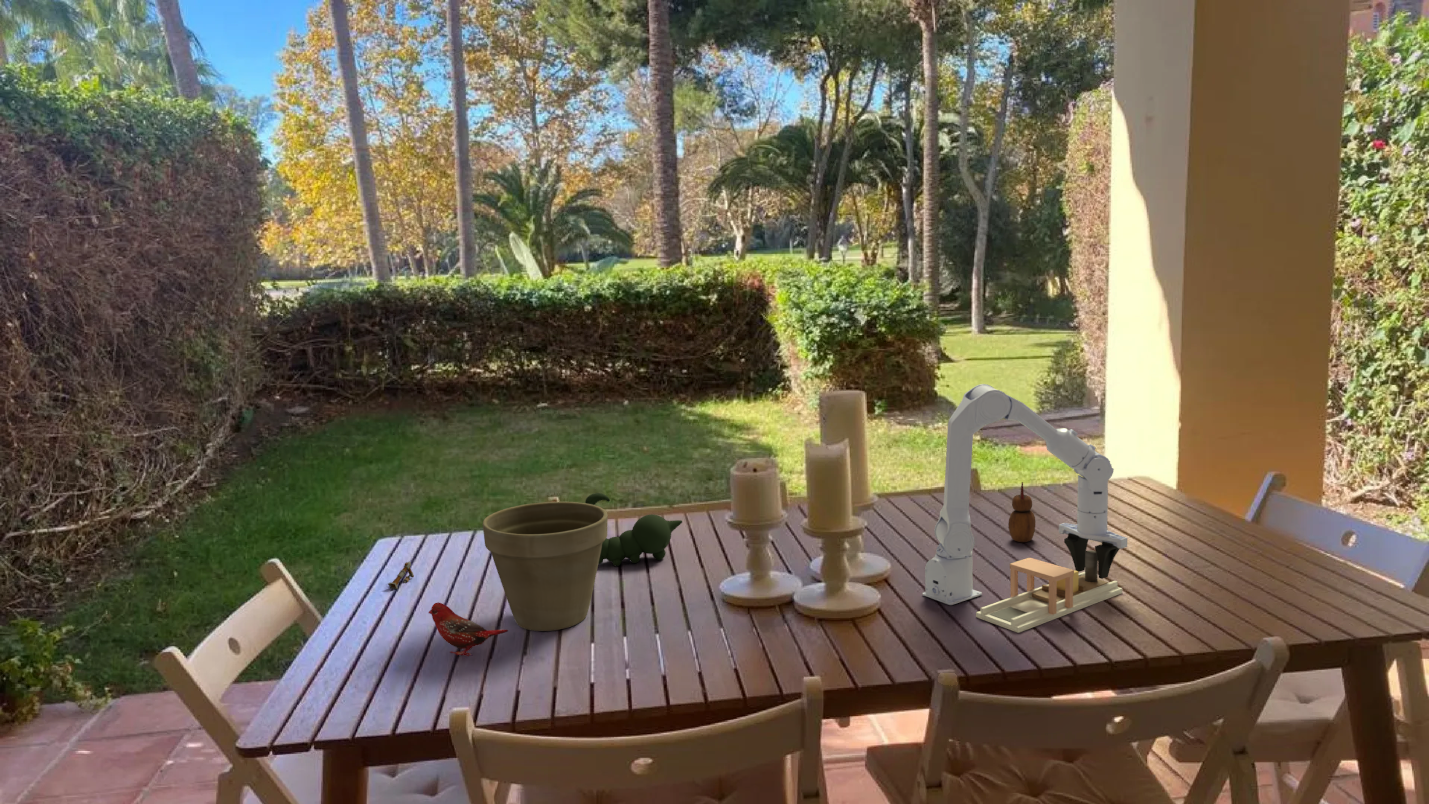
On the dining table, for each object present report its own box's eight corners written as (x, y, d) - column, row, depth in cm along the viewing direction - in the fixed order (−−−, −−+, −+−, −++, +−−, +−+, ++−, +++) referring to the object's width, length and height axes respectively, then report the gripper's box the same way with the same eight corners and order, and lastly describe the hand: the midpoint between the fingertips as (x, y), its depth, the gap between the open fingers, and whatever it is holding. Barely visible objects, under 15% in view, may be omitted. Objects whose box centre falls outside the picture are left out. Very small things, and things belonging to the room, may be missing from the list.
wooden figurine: (1029, 545, 222) (1029, 484, 219) (1005, 542, 225) (1005, 482, 223) (1038, 538, 227) (1038, 478, 225) (1015, 535, 230) (1015, 476, 228)
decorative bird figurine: (436, 648, 177) (432, 598, 176) (515, 659, 171) (511, 607, 169) (427, 655, 175) (422, 604, 173) (506, 665, 168) (502, 613, 167)
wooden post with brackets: (418, 573, 220) (412, 559, 218) (401, 597, 214) (394, 583, 212) (411, 573, 221) (405, 559, 219) (394, 597, 214) (387, 582, 212)
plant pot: (638, 608, 193) (632, 507, 190) (555, 652, 173) (546, 540, 170) (551, 589, 207) (544, 495, 204) (465, 628, 187) (455, 524, 184)
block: (1065, 595, 183) (1065, 575, 183) (1048, 589, 187) (1048, 570, 186) (1078, 590, 185) (1078, 571, 185) (1061, 585, 189) (1061, 566, 188)
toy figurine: (585, 579, 218) (689, 559, 222) (572, 502, 215) (678, 483, 219) (584, 567, 227) (684, 548, 231) (572, 492, 224) (673, 474, 228)
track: (1019, 633, 171) (1019, 589, 170) (975, 616, 180) (975, 574, 179) (1123, 593, 188) (1123, 553, 187) (1078, 580, 197) (1078, 541, 196)
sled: (1056, 605, 180) (1056, 571, 179) (1031, 597, 185) (1031, 564, 184) (1108, 586, 189) (1108, 554, 188) (1083, 578, 194) (1083, 547, 193)
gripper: (1136, 513, 185) (1135, 578, 187) (1073, 499, 197) (1073, 561, 199) (1115, 519, 181) (1114, 586, 183) (1052, 505, 193) (1052, 568, 195)
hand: (1091, 574), depth 191 cm, fingers open, 5 cm apart
